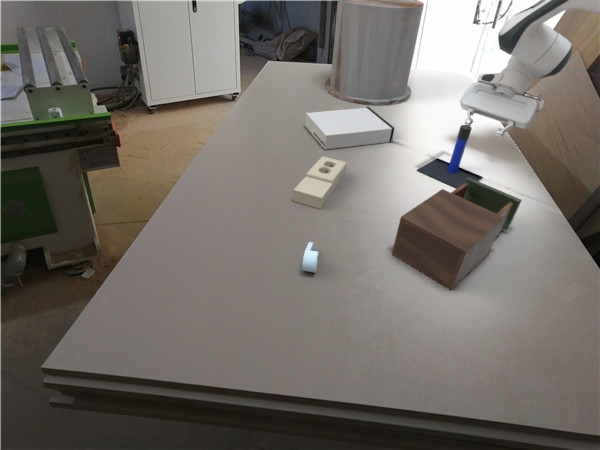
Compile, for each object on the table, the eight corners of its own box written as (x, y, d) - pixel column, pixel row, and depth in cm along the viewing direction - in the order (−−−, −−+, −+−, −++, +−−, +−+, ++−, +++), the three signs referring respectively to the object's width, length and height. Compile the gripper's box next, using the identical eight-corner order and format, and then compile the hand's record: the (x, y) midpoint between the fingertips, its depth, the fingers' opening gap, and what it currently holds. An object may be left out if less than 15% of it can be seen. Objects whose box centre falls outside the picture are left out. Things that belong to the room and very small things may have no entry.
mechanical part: (314, 276, 76) (316, 258, 74) (301, 274, 76) (303, 256, 75) (320, 255, 83) (322, 238, 81) (308, 253, 84) (310, 236, 82)
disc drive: (391, 142, 126) (394, 127, 123) (325, 150, 119) (326, 134, 116) (366, 120, 139) (368, 106, 136) (304, 126, 132) (305, 111, 129)
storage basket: (398, 112, 147) (418, 13, 127) (311, 93, 158) (317, 0, 138) (419, 85, 172) (438, 0, 153) (342, 71, 183) (351, -10, 164)
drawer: (466, 198, 100) (476, 171, 95) (516, 221, 93) (529, 192, 88) (426, 228, 89) (435, 199, 84) (479, 257, 82) (492, 226, 78)
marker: (459, 171, 112) (473, 127, 104) (454, 174, 111) (468, 130, 103) (450, 167, 114) (463, 123, 106) (445, 170, 112) (458, 126, 104)
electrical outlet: (293, 186, 95) (322, 155, 108) (293, 200, 97) (320, 168, 110) (322, 194, 92) (347, 161, 106) (320, 209, 95) (345, 175, 108)
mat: (487, 174, 112) (487, 173, 112) (463, 191, 104) (463, 190, 104) (442, 156, 120) (442, 154, 120) (416, 170, 112) (417, 169, 112)
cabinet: (431, 224, 92) (442, 188, 86) (488, 254, 85) (504, 217, 79) (391, 254, 83) (400, 216, 77) (451, 290, 76) (466, 251, 70)
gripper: (547, 105, 111) (519, 148, 111) (477, 85, 122) (452, 124, 122) (548, 92, 105) (518, 137, 106) (474, 72, 117) (448, 113, 117)
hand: (482, 130), depth 114 cm, fingers open, 8 cm apart
